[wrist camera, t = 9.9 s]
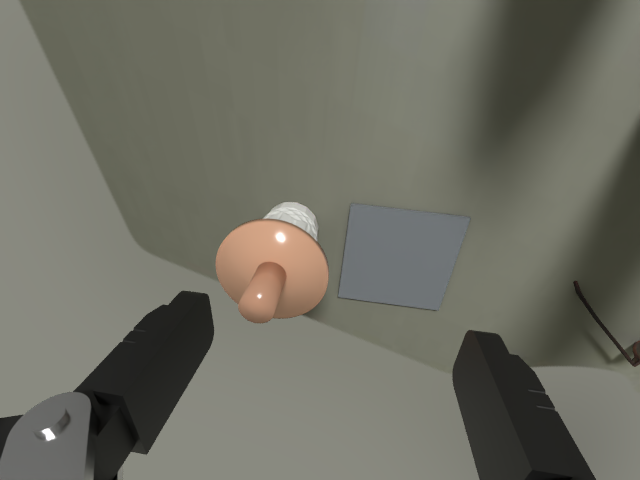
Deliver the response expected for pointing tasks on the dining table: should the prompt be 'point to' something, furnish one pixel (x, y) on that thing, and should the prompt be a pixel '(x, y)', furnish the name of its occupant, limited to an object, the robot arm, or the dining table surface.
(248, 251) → the lid
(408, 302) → the mat
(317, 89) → the dining table surface
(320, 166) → the dining table surface
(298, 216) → the white cup
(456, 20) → the dining table surface
